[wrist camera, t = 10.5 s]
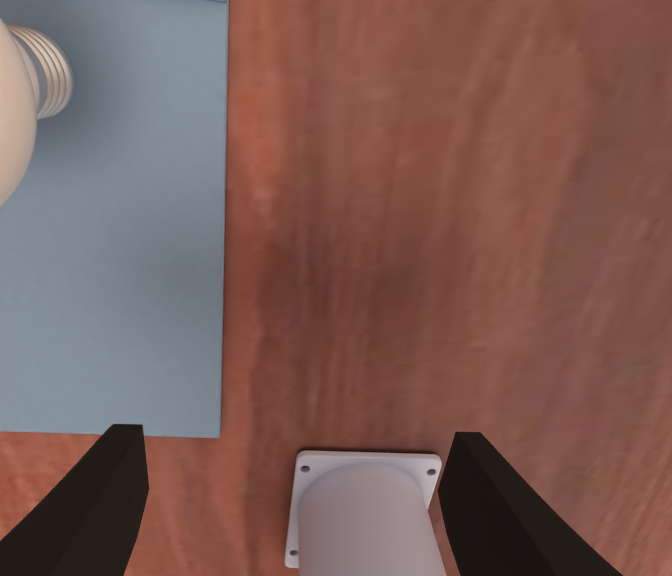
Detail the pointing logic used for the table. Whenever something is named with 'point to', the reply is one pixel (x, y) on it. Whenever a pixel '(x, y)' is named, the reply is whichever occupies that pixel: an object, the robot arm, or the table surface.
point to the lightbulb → (27, 96)
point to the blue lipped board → (120, 226)
